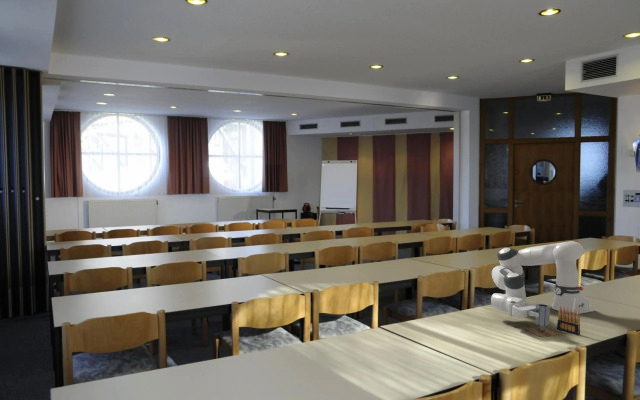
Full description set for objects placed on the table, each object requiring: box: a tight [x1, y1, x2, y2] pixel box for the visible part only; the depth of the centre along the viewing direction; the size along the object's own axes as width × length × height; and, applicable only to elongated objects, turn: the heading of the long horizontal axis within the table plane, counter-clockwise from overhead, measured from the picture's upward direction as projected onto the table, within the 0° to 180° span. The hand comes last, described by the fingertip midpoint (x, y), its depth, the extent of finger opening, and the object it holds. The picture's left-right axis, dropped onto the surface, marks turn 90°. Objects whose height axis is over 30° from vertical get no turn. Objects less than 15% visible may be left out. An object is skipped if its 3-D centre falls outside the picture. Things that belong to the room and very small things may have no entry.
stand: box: [525, 325, 559, 338], centre depth 242 cm, size 10×10×9 cm
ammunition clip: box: [556, 306, 581, 336], centre depth 244 cm, size 11×2×12 cm, turn 36°
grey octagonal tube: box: [534, 303, 551, 327], centre depth 241 cm, size 6×6×9 cm
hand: (544, 314), depth 241 cm, fingers closed on grey octagonal tube, 6 cm apart
